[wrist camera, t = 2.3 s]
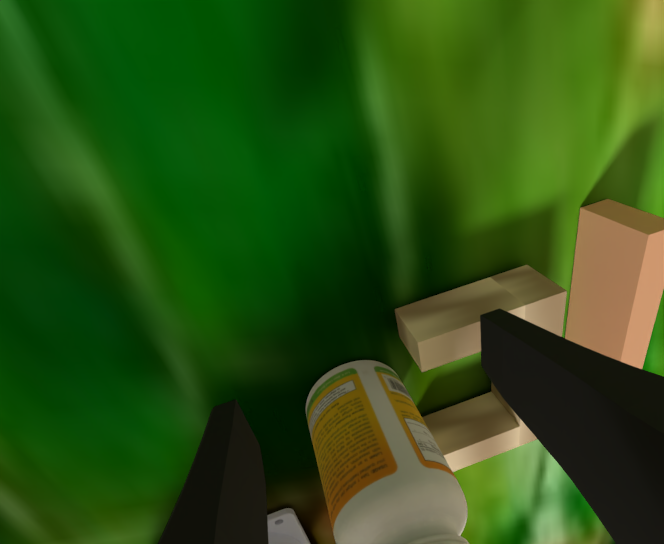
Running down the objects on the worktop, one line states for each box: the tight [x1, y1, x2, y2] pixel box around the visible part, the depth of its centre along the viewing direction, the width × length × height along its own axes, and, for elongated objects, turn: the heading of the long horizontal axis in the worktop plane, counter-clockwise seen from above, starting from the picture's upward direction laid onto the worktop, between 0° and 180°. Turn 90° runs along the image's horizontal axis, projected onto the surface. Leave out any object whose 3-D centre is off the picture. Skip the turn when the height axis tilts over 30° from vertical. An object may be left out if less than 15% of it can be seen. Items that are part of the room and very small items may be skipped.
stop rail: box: [565, 199, 664, 369], centre depth 21 cm, size 2×14×4 cm, turn 12°
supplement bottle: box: [306, 360, 469, 544], centre depth 17 cm, size 5×5×10 cm
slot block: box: [395, 265, 567, 472], centre depth 20 cm, size 7×10×3 cm
